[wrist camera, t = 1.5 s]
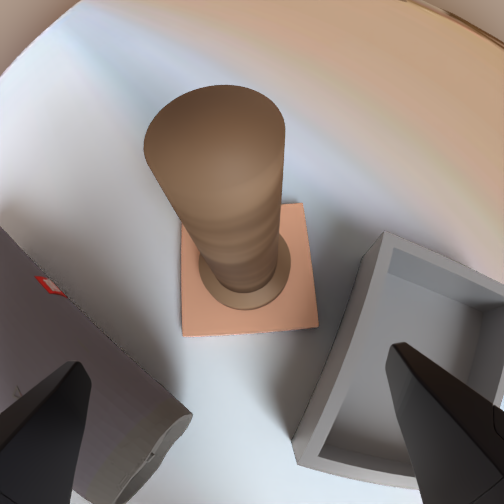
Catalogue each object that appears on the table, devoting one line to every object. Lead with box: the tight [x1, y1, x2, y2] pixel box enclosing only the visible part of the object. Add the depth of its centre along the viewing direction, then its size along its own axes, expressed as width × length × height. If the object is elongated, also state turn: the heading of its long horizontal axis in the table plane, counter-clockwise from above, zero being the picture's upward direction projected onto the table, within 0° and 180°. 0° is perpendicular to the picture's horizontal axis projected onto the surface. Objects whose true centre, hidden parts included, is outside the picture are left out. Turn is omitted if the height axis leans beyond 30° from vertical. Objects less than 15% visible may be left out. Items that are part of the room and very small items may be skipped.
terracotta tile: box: [181, 203, 319, 337], centre depth 22 cm, size 9×9×1 cm
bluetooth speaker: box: [0, 227, 193, 504], centre depth 16 cm, size 23×9×10 cm, turn 57°
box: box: [291, 231, 504, 490], centre depth 16 cm, size 14×12×5 cm
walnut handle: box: [144, 85, 291, 310], centre depth 15 cm, size 6×6×14 cm
